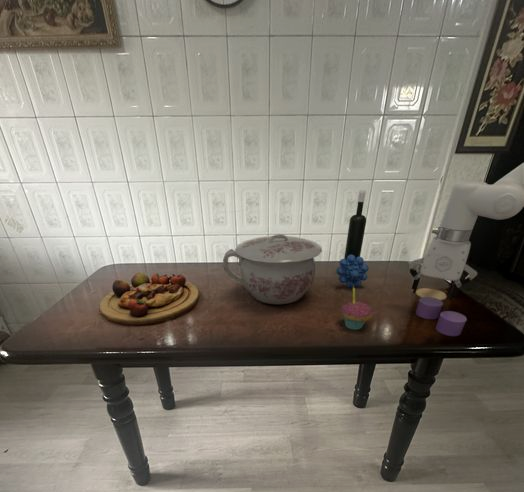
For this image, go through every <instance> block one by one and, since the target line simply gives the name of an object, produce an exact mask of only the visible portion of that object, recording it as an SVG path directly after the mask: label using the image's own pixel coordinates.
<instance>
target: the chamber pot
mask: <svg viewBox="0 0 524 492" xmlns="http://www.w3.org/2000/svg"><path fill="white" fill-rule="evenodd" d="M322 252H323V249H322V246H321V245H320V244H319V243H317V242H316V241H313V240H311V239H306V238H303V237H297V236H291V235H285V234H282V233H281V234H280V233H277V234H274V235H266V236H258V237H254V238H250V239H247V240H244V241H242V242H240V243H238V244H237V245H236V247H235V248H234V249H233V248H230V249H228V250H227V251H226V252H225V253H224V256H223V258H222V267H223V269H224V271H225V272H226V274H228V276H229V277H230V278H232V279H234V280H235V281H237V282H238V283H239V284H241V285H242V286H243V287H244V289H246V290H247V291H248V292H249V294H250V295H251V296H252V297H253V298H254V299H255V300H257V301H258V302H261V303H264V304H268V305H288V304H292V303H295V302H297V301H299V300H301V298H303V297H304V295H305V294H306V293H307V291H308V290H309V288H310V287H311V286H312V284H313V283H314V279H315V275H316V268H317V265H316V260H315V258H316V257H318V256H319V255H320V254H322ZM232 257H235V258H238V265H239V267H240V273H241V276H240V275H237V274H236V273H235V272H234V271H232V270H231V268H230V266H229V258H232Z"/></svg>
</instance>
